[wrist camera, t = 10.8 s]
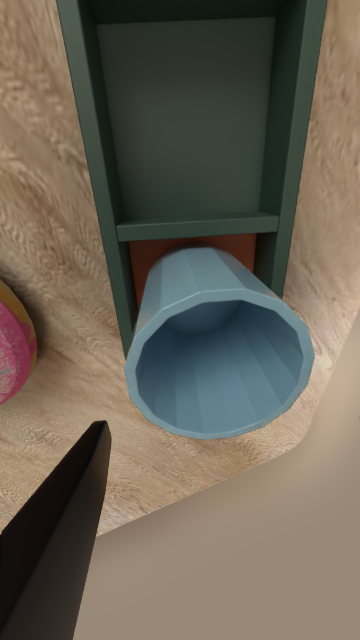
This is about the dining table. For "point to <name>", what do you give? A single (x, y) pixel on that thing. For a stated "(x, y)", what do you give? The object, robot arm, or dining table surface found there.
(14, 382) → the donut
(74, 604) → the robot arm
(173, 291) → the blue cup
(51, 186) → the dining table surface
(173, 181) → the cup rack
